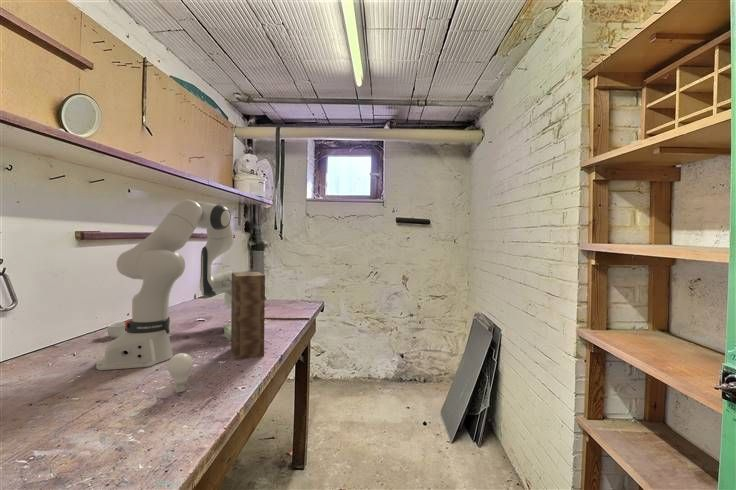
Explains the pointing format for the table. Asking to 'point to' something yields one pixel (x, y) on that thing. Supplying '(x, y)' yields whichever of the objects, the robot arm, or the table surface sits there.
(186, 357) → the lightbulb
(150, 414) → the table surface
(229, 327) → the pale green stepped block
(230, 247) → the robot arm
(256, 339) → the upright wooden block
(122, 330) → the teacup
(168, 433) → the table surface
